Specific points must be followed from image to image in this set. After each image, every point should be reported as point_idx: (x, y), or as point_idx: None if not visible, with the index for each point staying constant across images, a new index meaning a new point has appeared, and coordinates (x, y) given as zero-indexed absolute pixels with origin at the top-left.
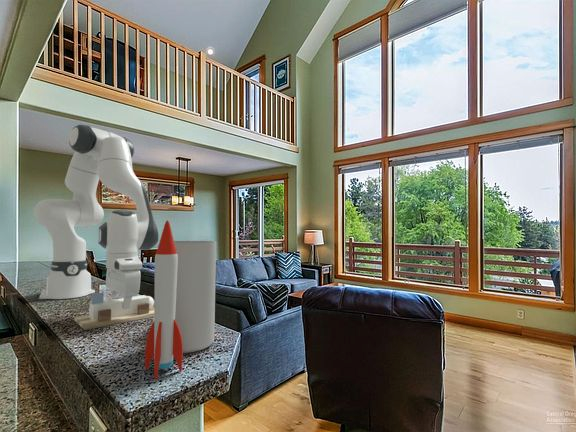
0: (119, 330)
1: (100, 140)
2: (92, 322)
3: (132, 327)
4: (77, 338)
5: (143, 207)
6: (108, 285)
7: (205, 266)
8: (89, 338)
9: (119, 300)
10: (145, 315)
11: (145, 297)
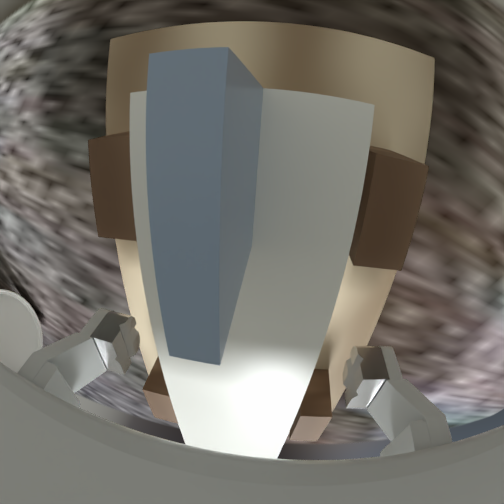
0: (32, 192)
1: None
2: None
3: (46, 247)
4: (39, 28)
5: None
6: (478, 463)
7: None
8: (14, 72)
9: (214, 376)
10: (143, 355)
11: None
